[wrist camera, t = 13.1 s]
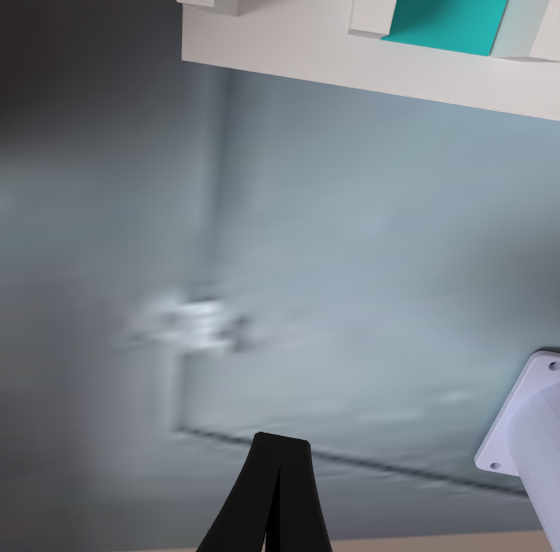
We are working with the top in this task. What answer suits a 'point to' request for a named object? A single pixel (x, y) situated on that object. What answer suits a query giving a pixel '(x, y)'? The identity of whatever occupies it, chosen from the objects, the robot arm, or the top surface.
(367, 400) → the top surface
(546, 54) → the slot rack
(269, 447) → the robot arm
